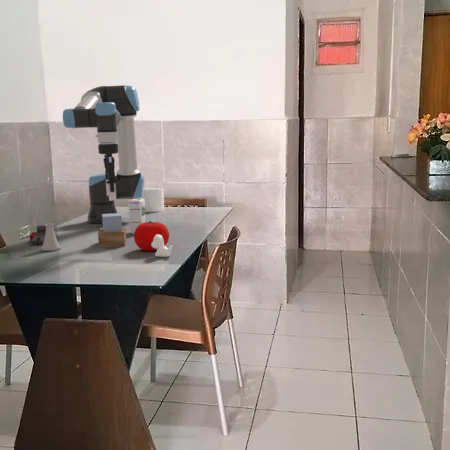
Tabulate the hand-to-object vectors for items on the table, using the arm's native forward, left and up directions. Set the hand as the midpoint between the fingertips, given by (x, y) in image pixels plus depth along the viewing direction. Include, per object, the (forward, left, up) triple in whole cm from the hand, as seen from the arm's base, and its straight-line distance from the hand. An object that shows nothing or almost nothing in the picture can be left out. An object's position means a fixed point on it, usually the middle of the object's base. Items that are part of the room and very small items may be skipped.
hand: (111, 197), depth 219 cm
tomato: (+16, +13, -19) cm, 28 cm away
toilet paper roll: (-79, +27, -19) cm, 85 cm away
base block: (0, -1, -19) cm, 19 cm away
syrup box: (-20, +12, -19) cm, 30 cm away
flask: (+1, -24, -19) cm, 30 cm away
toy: (-16, -28, -19) cm, 37 cm away
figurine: (+28, +15, -19) cm, 37 cm away
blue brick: (0, 0, -13) cm, 13 cm away
